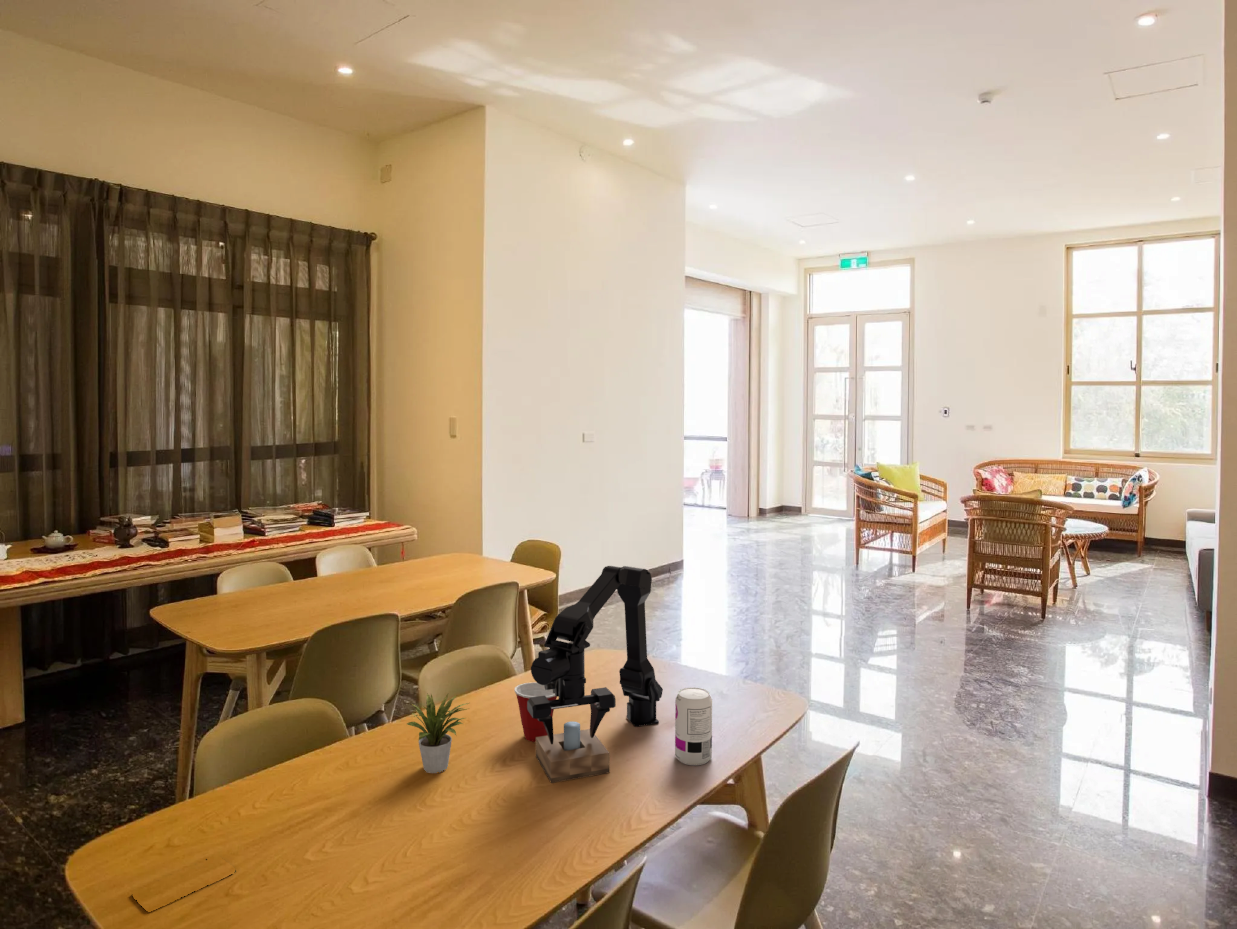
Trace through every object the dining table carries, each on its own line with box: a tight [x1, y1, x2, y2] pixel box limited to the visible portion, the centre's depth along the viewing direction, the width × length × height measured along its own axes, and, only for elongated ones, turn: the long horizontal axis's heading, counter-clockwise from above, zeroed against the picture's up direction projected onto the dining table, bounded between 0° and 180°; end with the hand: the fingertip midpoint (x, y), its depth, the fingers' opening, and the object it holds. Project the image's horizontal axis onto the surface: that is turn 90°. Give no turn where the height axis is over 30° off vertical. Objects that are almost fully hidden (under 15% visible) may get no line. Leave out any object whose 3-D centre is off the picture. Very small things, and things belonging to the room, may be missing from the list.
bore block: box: [535, 728, 610, 784], centre depth 171 cm, size 13×13×4 cm
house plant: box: [406, 693, 470, 774], centre depth 168 cm, size 14×14×16 cm
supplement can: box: [674, 687, 713, 766], centre depth 174 cm, size 8×8×15 cm
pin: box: [563, 721, 581, 751], centre depth 171 cm, size 4×4×8 cm
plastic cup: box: [514, 681, 558, 743], centre depth 185 cm, size 11×11×12 cm
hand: (571, 740), depth 171 cm, fingers open, 9 cm apart
